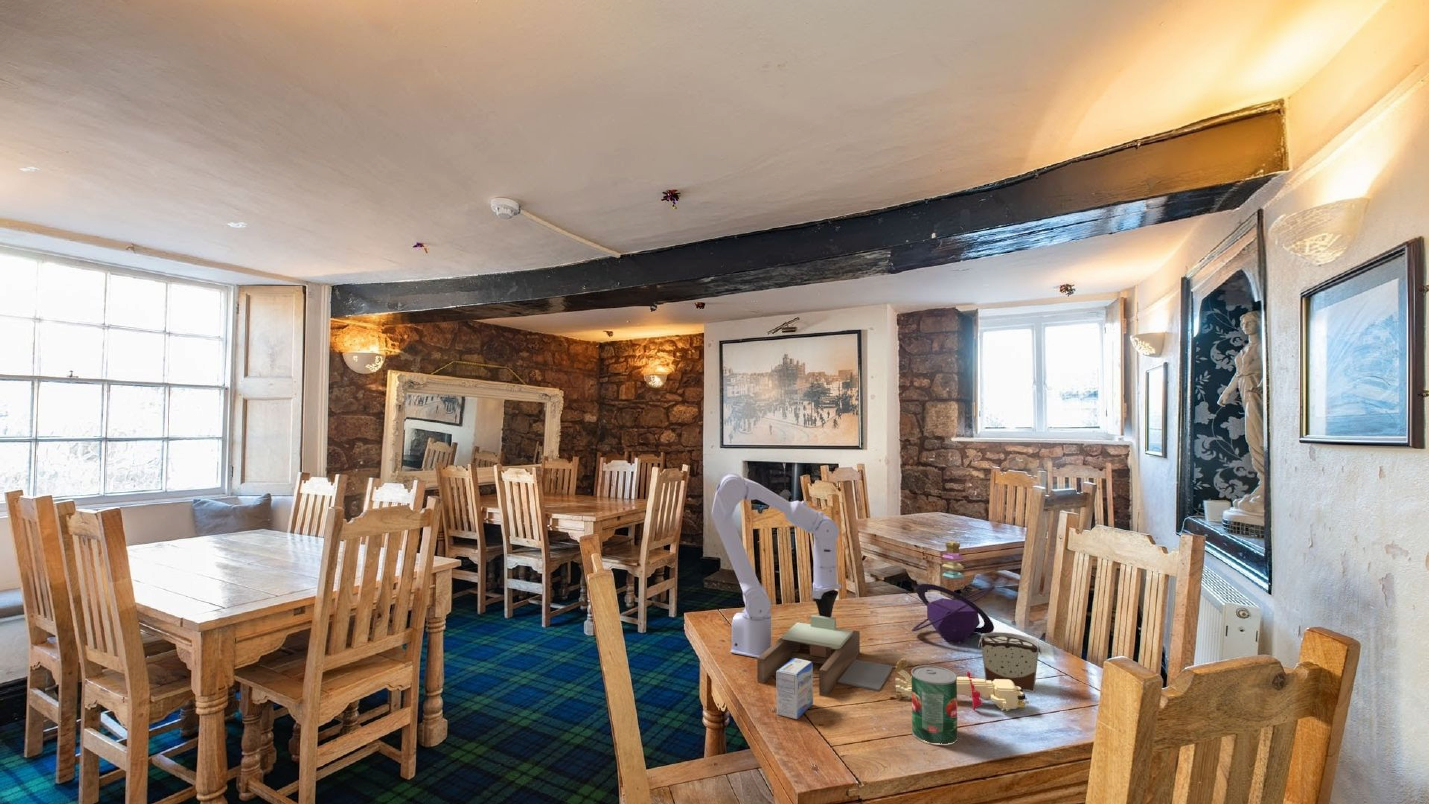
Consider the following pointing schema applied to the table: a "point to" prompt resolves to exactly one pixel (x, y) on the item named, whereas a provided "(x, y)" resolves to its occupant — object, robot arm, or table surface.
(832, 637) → the cover
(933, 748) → the table surface
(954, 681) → the canned tomato
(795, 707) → the medicine box
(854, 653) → the brown wooden frame
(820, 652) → the block
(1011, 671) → the food container
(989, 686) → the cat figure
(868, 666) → the mat
